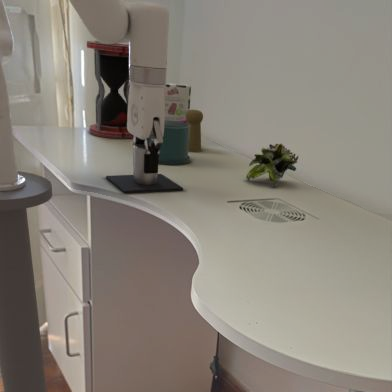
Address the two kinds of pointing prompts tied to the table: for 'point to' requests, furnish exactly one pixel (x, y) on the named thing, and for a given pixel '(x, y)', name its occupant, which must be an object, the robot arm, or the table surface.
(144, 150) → the steel cup
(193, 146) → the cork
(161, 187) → the mat
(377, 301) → the table surface
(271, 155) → the leafy green plant
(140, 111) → the robot arm
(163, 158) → the teal short wide cylinder
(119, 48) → the hourglass
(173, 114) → the candy bar box
